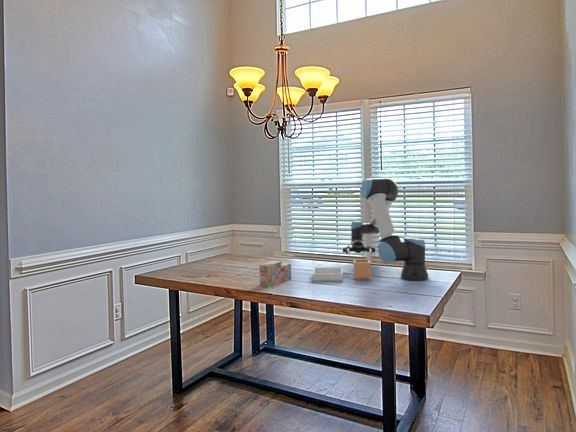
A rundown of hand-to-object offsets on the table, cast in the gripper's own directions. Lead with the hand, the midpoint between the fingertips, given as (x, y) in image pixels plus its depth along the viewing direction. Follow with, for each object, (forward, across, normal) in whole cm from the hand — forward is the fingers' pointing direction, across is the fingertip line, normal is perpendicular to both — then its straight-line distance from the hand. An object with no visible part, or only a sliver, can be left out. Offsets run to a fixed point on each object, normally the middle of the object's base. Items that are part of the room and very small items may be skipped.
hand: (359, 252), depth 253 cm
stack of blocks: (+20, +49, -13) cm, 55 cm away
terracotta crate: (+11, -1, -13) cm, 17 cm away
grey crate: (+11, +19, -13) cm, 26 cm away
